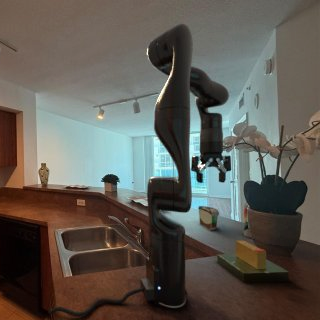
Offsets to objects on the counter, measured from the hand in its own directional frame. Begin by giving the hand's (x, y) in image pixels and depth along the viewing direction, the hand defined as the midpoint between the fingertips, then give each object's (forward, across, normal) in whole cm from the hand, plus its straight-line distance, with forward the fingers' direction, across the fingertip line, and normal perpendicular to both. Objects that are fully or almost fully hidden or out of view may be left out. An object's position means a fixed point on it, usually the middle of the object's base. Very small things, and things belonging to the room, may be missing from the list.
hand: (210, 182), depth 75 cm
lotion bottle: (+28, -30, -14) cm, 44 cm away
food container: (+28, -19, -26) cm, 43 cm away
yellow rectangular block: (+25, -5, +12) cm, 28 cm away
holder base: (+28, -5, +12) cm, 31 cm away
